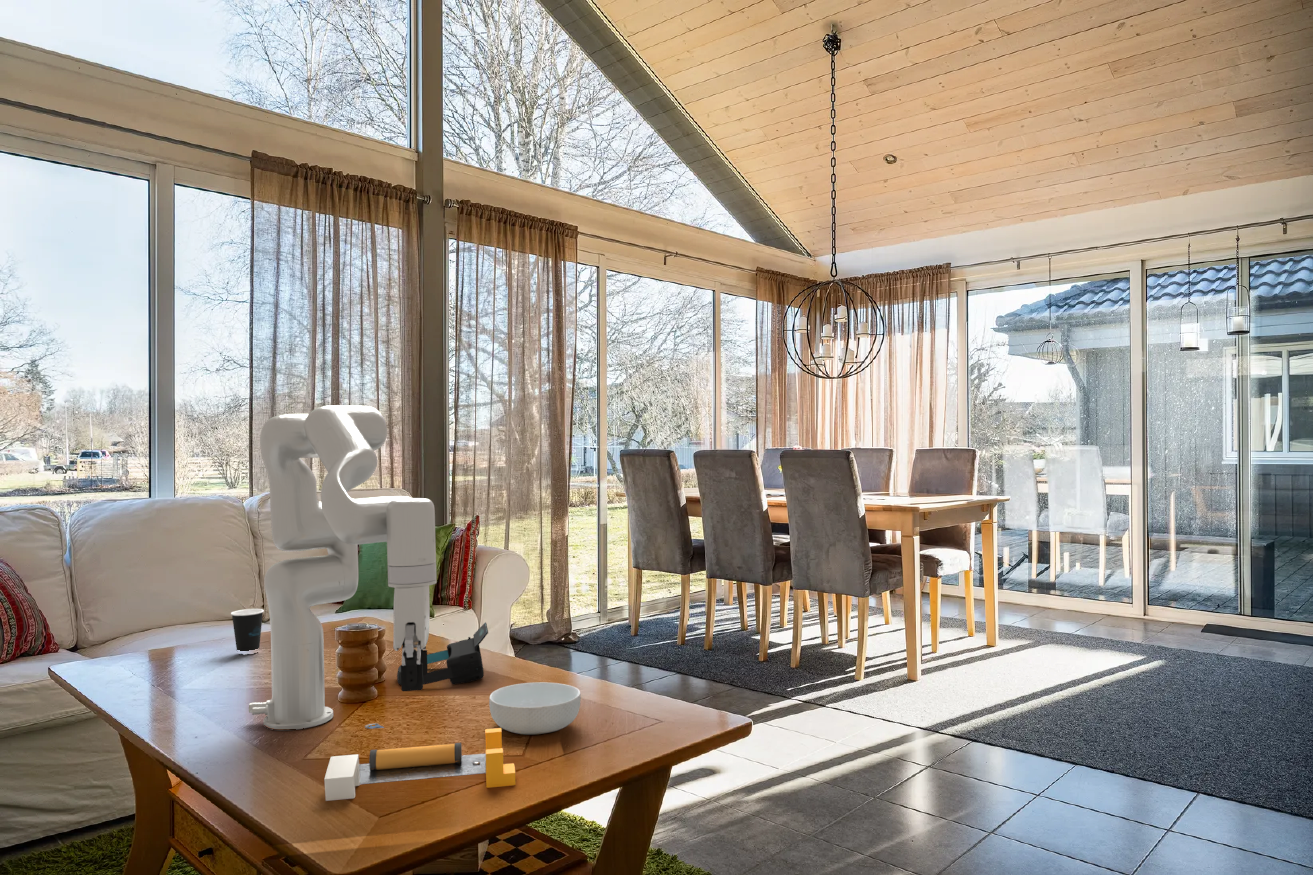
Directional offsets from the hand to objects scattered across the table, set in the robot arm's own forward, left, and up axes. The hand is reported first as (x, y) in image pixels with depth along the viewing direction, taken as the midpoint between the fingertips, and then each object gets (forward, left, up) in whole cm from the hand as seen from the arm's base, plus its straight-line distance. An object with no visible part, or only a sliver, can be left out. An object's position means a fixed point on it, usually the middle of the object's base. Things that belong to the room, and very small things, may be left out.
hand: (415, 682), depth 141 cm
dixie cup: (-51, +102, -15) cm, 115 cm away
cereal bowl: (+20, +18, -15) cm, 31 cm away
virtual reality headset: (+1, +64, -16) cm, 65 cm away
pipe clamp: (+13, -4, -16) cm, 21 cm away
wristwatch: (-6, +21, -16) cm, 27 cm away
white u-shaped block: (-10, -7, -14) cm, 19 cm away
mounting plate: (0, 0, -15) cm, 15 cm away
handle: (0, 0, -13) cm, 13 cm away
